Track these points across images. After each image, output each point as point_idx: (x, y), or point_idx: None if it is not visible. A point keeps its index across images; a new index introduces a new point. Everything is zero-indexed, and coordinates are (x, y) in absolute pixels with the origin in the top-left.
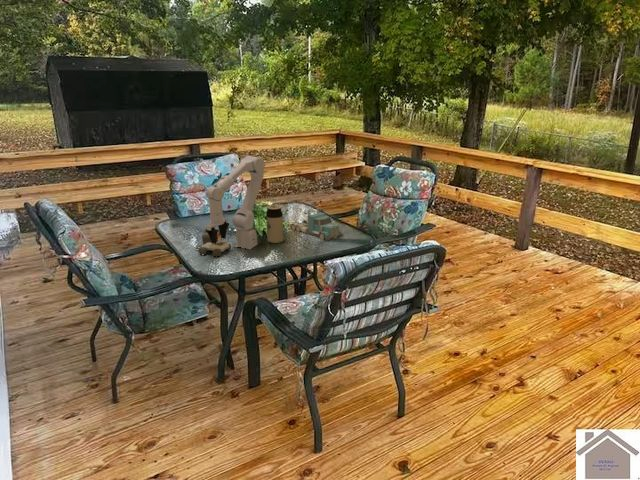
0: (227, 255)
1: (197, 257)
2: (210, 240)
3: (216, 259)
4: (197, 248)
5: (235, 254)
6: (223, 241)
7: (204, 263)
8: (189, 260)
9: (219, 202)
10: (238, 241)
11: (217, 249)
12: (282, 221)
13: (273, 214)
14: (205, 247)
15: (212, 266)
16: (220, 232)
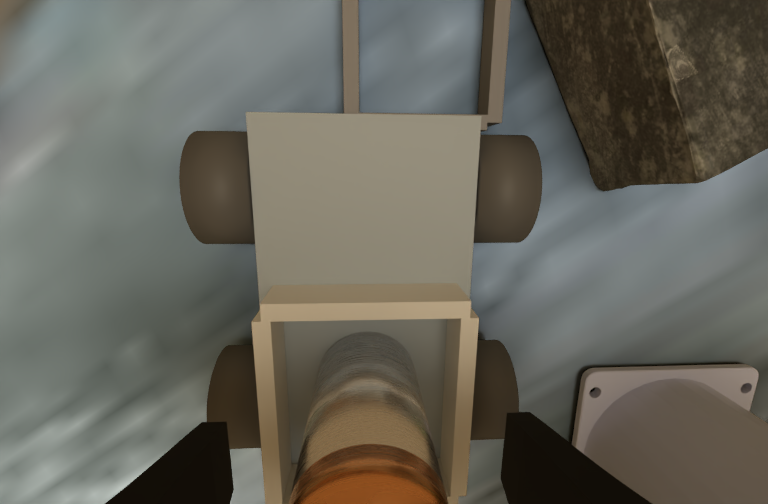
0: None
1: (140, 174)
2: (610, 73)
3: (195, 405)
4: (342, 8)
5: None
6: (470, 427)
7: (33, 361)
8: (4, 140)
9: None
10: (631, 476)
11: (245, 436)
12: None
13: None
14: (254, 225)
15: (16, 474)
16: (570, 499)
